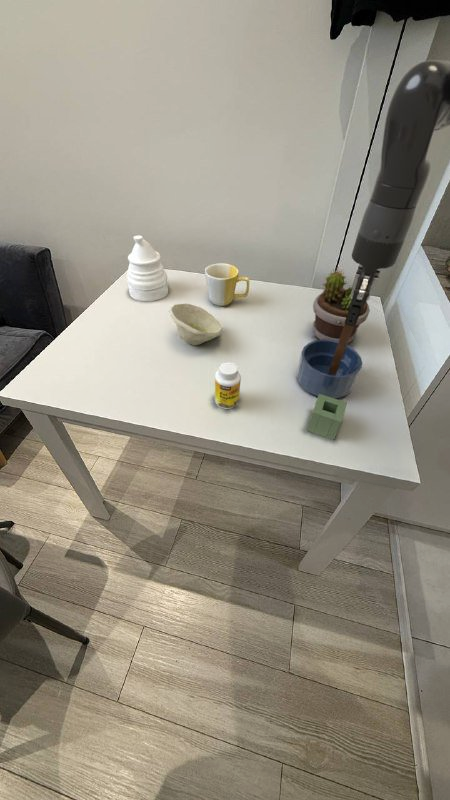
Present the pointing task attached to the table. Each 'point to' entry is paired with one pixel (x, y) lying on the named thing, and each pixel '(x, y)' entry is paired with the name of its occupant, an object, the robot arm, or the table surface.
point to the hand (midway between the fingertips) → (350, 321)
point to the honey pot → (146, 272)
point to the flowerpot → (334, 309)
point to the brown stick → (340, 349)
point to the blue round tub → (327, 369)
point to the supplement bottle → (227, 385)
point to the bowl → (195, 323)
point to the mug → (223, 283)
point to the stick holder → (327, 416)
